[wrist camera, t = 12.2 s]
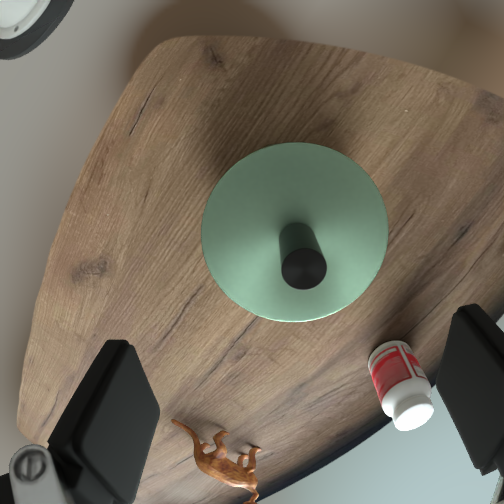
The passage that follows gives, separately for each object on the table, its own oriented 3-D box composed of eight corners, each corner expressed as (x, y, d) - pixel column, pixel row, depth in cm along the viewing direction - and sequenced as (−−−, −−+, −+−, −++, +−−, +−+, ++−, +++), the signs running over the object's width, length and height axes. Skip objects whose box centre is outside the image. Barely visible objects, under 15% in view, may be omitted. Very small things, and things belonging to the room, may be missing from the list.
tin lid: (190, 153, 22) (163, 163, 16) (380, 136, 21) (417, 141, 15) (219, 320, 27) (207, 368, 21) (380, 304, 26) (404, 349, 20)
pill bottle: (361, 374, 40) (380, 437, 29) (374, 338, 37) (400, 400, 27) (401, 373, 40) (426, 432, 29) (416, 338, 37) (449, 396, 27)
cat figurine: (163, 422, 45) (142, 491, 33) (183, 404, 43) (162, 480, 31) (252, 464, 49) (248, 528, 36) (276, 450, 47) (276, 519, 34)
